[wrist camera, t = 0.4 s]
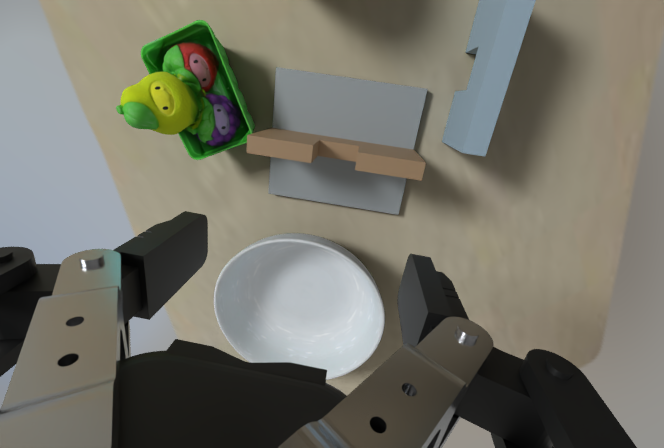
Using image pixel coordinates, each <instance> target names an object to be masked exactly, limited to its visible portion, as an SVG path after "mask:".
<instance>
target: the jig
mask: <svg viewBox="0 0 664 448" xmlns="http://www.w3.org/2000/svg"><path fill="white" fill-rule="evenodd" d="M426 94H427V89H424V88H417V87H410V86H403V85H396V84H389V83H382V82H375V81H368V80H361V79H355V78H348V77H341V76H334V75H327V74H320V73H313V72H306V71H299V70H292V69H285V68H278V67H276V78H275V94H274V111H273V127H272V128H270V129H267V130H263V131H260V132H256V133H253V134H249V135H247V153H250V154H256V155H263V156H269V157H271V160H270V177H269V194H275V195H281V196H287V197H293V198H299V199H305V200H311V201H317V202H324V203H330V204H336V205H342V206H348V207H354V208H360V209H366V210H372V211H378V212H384V213H391V214H397V215H398V214H399V210H400V205H401V201H402V197H403V192H404V188H405V184H406V180H407V178H408V179H414V180H420V181H422V177H423V173H424V169H425V165H426V162H425V161H424V160H423V159H422V158H421V157H420V156H419V155H418V154H417V153H416V152H415V151H414V150H413V149H414V145H415V141H416V137H417V132H418V128H419V124H420V119H421V115H422V111H423V106H424V102H425V98H426Z"/></svg>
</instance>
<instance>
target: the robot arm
mask: <svg viewBox="0 0 664 448" xmlns="http://www.w3.org/2000/svg"><path fill="white" fill-rule="evenodd" d="M207 252H208V223H207V217H206V216H205V215H202V214H197V213H192V212H186V211H185V212H183V213H181V214H180V215H178V216H176V217H175V218H173V219H172V220H170V221H166V222H163V223H160V224H156V225H154V226H153V227H151V228H149V229H148V230H146V232H143V233H141V234H139V235H138V237H134V238H133V239H131V240H129V241H128V242H126V243H124V244H123V245H121V246H119V247H118V248H116V249H114V250H109V249H92V250H86V251H82V252H78V253H75V254H73V255H71V256H69V257H67V258H66V259H64V260H63V262H62V264H36V262H35V258H34V254H33V252H32V250H30V249H28V248H24V247H2V248H0V376H1V375H3V374H4V373H5V372H7V371H8V370H9V369H10V368H12V367H13V366H14V365H15V364H16V367H15V369H14V372H13V375H12V378H11V381H10V384H9V387H8V390H7V393H6V395H5V399H4V401H3V404H2V407H1V409H0V448H442V447H443V445H444V444H445V442H446V440H447V439H448V437H449V435H450V434H451V432H452V430H453V429H454V427H455V425H456V424H457V422H458V421H459V419H460V417H461V418H463V419H465V420H467V421H469V422H471V423H473V424H475V425H477V426H479V427H481V428H483V429H485V430H487V431H489V432H491V435H492V439H493V442H494V445H495V448H637V447H636V446H635V444H634V443H633V442H632V440H631V439H630V437H629V436H628V435H627V434H626V432H625V430H624V429H623V428H622V426H621V425H620V424H619V422H618V421H617V419H616V418H615V417H614V415H613V414H612V412H611V411H610V410H609V408H608V407H607V405H606V404H605V403H604V401H603V400H602V399H601V397H600V396H599V394H598V393H597V391H596V390H595V389H594V387H593V386H592V385H591V383H590V382H589V380H588V379H587V378H586V376H585V375H584V374H583V373H582V372H581V371H580V370H579V369H578V368H577V367H576V366H575V365H573V364H572V363H571V362H569V361H568V360H566V359H565V358H563V357H561V356H559V355H557V354H555V353H552V352H549V351H546V350H541V349H534V350H531V351H529V352H528V354H527V356H526V358H525V359H524V360H523V359H520V358H518V357H515V356H513V355H510V354H508V353H505V352H503V351H501V350H499V349H497V348H495V347H493V340H492V338H491V336H490V335H489V334H488V332H487V331H486V330H484V329H483V328H482V327H481V326H479V325H478V324H476V323H474V322H472V321H470V320H469V319H468V316H467V314H466V312H465V310H464V308H463V305H462V303H461V301H460V299H459V297H458V294H457V292H455V288H454V286H453V283H452V281H451V280H450V279H449V278H448V277H447V276H446V275H445V274H443V273H442V272H437V271H436V270H435V268H434V265H433V263H432V260H431V258H430V257H425V256H420V255H415V254H410V255H409V257H408V260H407V263H406V266H405V270H404V273H403V277H402V280H401V284H400V288H399V292H398V310H399V317H400V324H401V330H402V337H403V344H404V345H403V346H402V347H401V348H400V349H399V350H398V351H397V352H395V353H394V354H393V355H392V356H391V357H390V358H389V359H388V360H387V361H385V362H384V363H383V364H382V365H381V366H380V367H379V368H378V369H377V370H375V371H374V372H373V373H372V374H371V375H370V376H369V377H368V378H367V379H365V380H364V381H363V382H362V383H361V384H360V385H359V386H358V387H357V388H355V389H354V390H353V391H352V392H351V393H350V394H349V395H348V396H346V395H345V394H344V393H342V392H341V391H340V390H338V389H336V388H335V387H333V386H331V385H329V384H327V383H325V382H326V376H327V370H325V369H320V368H315V367H310V366H305V365H301V364H296V363H291V362H267V363H249V362H245V361H242V360H240V359H238V358H236V357H234V356H231V355H229V354H227V353H225V352H223V351H221V350H219V349H217V348H214V347H212V346H207V345H202V344H197V343H192V342H188V341H183V340H178V339H175V341H174V342H173V343H172V344H171V346H170V347H169V348H168V349H167V351H157V352H149V353H143V354H139V355H135V356H132V357H131V353H130V325H129V320H130V319H131V318H132V317H133V316H134V317H140V318H144V319H149V320H150V318H151V317H152V316H153V315H154V314H155V313H156V312H157V311H158V310H159V309H160V308H161V307H162V306H163V305H164V304H165V303H166V302H167V301H168V300H169V299H170V298H171V297H172V296H173V295H174V294H175V293H176V292H177V291H178V290H179V289H180V288H181V287H182V286H183V285H184V284H185V283H186V282H187V281H188V280H189V279H190V278H191V277H192V276H193V275H194V274H195V273H196V272H197V271H198V270H199V269H200V268H201V267H202V266H203V264H204V262H205V260H206V257H207Z"/></svg>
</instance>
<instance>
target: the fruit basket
mask: <svg viewBox="0 0 664 448" xmlns="http://www.w3.org/2000/svg"><path fill="white" fill-rule="evenodd" d="M141 57H142V60H143V62H144V64H145V66H146V68H147V70H148V72H149V75H148V76H146V77H144V78H143V79H142V80H141V81H140V82H139V83H138V84H135V85H132V86H130V87H128V88H126V89H125V90H124V91H123V93H122V96H121V105H119V106H117V107H116V109H117V112H118V113H119V114H124V117H125V120H126V122H127V123H128V124H129V125H131V126H132V127H135V128H138V129H151V130H153V131H156V132H159V133H162V134H169V135H174V134H177V133H178V134H179V136H180V138H181V140H182V142H183V144H184V146H185V148H186V150H187V152H188V154H189V155H190V157H191V158H193V159H196V160H200V159H203V158H206V157H208V156H211V155H214V154H217V153H220V152H222V151H225V150H228V149H231V148H233V147H236V146H239V145H242V144H245V143H247V135H249V134H253V130H254V128H255V125H254V122H253V120H252V117H251V115H250V114H249V112H248V111H247V105H246V102H245V100H244V97H243V95H242V93H241V91H240V90H239V89H238V82H237V80H236V77H235V75H234V72H233V70H232V69H231V67H230V66H229V62H228V58H227V55H226V52H225V50H224V48H223V46H222V45H221V43H220V42H219V41H218V39H217V38H216V37H215V35H214V32H213V31H212V29H211V28H210V26H209V25H208V23H207V22H205V21H203V20H197V21H195V22H193V23H191V24H189V25H187V26H185V27H183V28H181V29H178V30H176V31H174V32H173V33H170V34H168V35H166V36H164V37H161V38H159V39H157V40H155V41H152V42H150V43H148V44H146V45H144V46H143V47H142V49H141Z"/></svg>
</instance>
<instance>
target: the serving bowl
mask: <svg viewBox="0 0 664 448" xmlns="http://www.w3.org/2000/svg"><path fill="white" fill-rule="evenodd" d="M214 309H215V314H216V318H217V321H218V323H219V326H220V328H221V330H222V332H223V334H224V335H225V337H226V338H227V340H228V341H229V343H230V344H231V345H232V346H233V348H234V349H235V350H236V351H237V352H238V353H239V354H240V355H241V356H242V357H244V358H245V359H246V360H248V361H249V362H250V363H267V362H291V363H296V364H301V365H305V366H310V367H315V368H320V369H325V370H327V376H326V380H328V379H333V378H336V377H340V376H343V375H345V374H347V373H349V372H351V371H353V370H355V369H356V368H358V367H359V366H361V365H362V364H363V363H364V362H366V361H367V360H368V359H369V358H370V356H371V355H372V354H373V353H374V351H375V350H376V348H377V346H378V345H379V343H380V341H381V338H382V335H383V331H384V325H385V312H384V306H383V301H382V298H381V295H380V292H379V289H378V287H377V285H376V283H375V281H374V279H373V277H372V276H371V274H370V272H369V271H368V270H367V268H366V267H365V266H364V265H363V264H362V262H361V261H360V260H359V259H358V258H357V257H355V256H354V255H353V254H352V253H351V252H349V251H348V250H347V249H345V248H344V247H342V246H340V245H338V244H337V243H335V242H332V241H330V240H328V239H325V238H322V237H319V236H315V235H309V234H301V233H287V234H279V235H274V236H270V237H267V238H264V239H262V240H259V241H257V242H255V243H253V244H251V245H249V246H248V247H246V248H245V249H243V250H242V251H240V252H239V253H238V254H236V255H235V256H234V257H233V258H232V259H231V260H230V261H229V262H228V263H227V264H226V266H225V267H224V268H223V270H222V271H221V273H220V275H219V278H218V280H217V283H216V286H215V291H214Z"/></svg>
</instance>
